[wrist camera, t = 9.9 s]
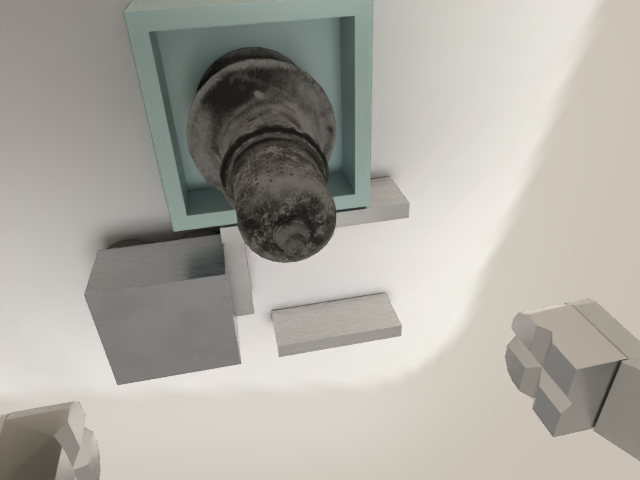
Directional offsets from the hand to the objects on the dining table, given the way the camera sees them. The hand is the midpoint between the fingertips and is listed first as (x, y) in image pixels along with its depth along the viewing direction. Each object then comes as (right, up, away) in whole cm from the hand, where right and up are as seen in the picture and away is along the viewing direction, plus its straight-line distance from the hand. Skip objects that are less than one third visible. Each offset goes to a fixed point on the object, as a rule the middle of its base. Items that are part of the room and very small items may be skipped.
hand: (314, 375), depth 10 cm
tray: (-3, +9, +14) cm, 17 cm away
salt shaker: (-3, +9, +14) cm, 16 cm away
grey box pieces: (-3, +1, +19) cm, 19 cm away
